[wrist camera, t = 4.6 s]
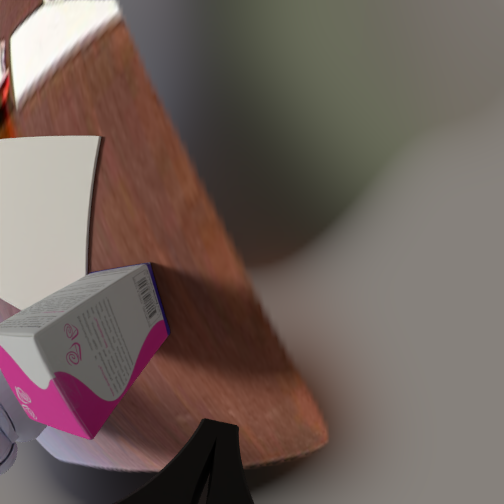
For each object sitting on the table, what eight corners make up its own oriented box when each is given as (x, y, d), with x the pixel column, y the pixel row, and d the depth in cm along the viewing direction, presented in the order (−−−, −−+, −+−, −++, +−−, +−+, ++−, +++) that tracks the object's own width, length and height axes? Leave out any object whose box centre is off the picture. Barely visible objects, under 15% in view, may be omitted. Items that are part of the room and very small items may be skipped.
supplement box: (89, 271, 20) (-21, 330, 9) (151, 260, 19) (36, 333, 8) (111, 338, 21) (27, 421, 10) (172, 334, 20) (97, 444, 9)
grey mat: (90, 341, 21) (88, 342, 21) (-15, 287, 22) (-16, 288, 22) (101, 136, 17) (99, 136, 17) (-12, 140, 18) (-14, 140, 18)
